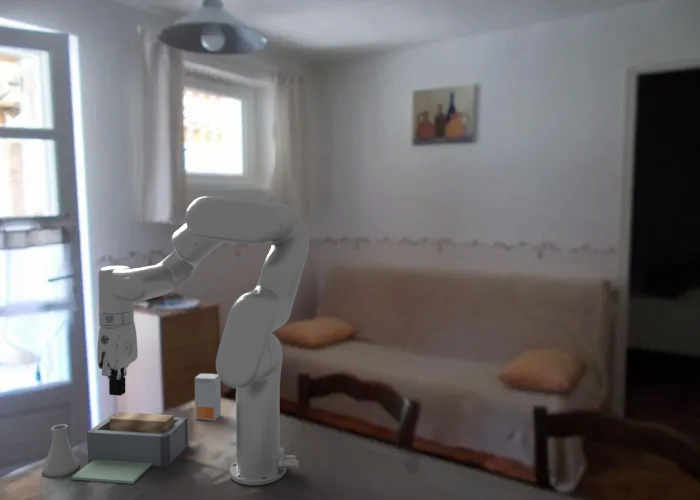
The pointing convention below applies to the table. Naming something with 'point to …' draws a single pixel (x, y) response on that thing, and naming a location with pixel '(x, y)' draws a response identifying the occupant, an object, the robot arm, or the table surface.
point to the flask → (60, 454)
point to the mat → (112, 471)
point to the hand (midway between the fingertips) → (117, 393)
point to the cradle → (137, 444)
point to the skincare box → (207, 397)
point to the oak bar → (141, 422)
